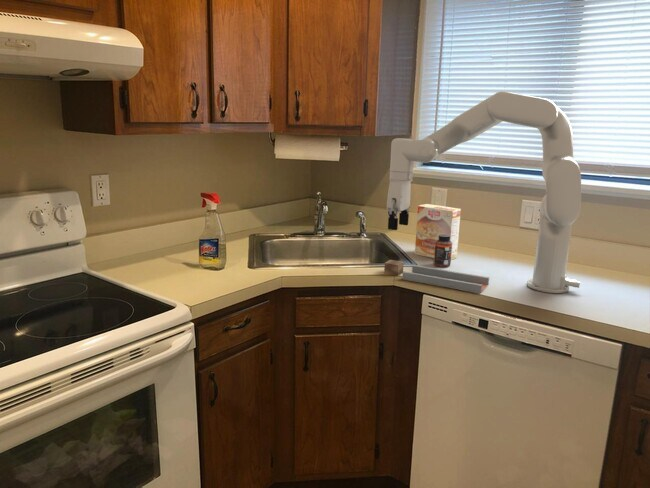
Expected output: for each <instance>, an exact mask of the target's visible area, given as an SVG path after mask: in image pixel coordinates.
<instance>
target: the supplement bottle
mask: <svg viewBox="0 0 650 488" xmlns="http://www.w3.org/2000/svg"><path fill="white" fill-rule="evenodd" d="M451 252H452V242H451V241H450V235H446V234H440V235H439V240H437V241H436V244H435V257H434V258H433V264H434V265H435V266H436V267H438V268H439V267H440V268H448V267H450V266H451V264H452V260H451Z"/></svg>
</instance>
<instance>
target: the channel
mask: <svg viewBox="0 0 650 488" xmlns="http://www.w3.org/2000/svg"><path fill="white" fill-rule="evenodd" d="M411 268H412V269H411V271H406V270H405V271H404V270H403V273H402V274H401V275H402V277H401V280H404V281H409V282H410V281H411V282H415V283H416V282H417V283H421V284H427V285H430V286H431V285H432V286H438V287H443V288H450V289H455V290H460V291H465V292H470V293H477V294H482V293H483V292H484V291H485V290H486V288H487V287H488V286H489V285H490V276H484V275H479V274H478V275H477V274H472V273H465V272H461V271H460V272H459V271H452V270H447V269H441V268H435V267H429V266H428V267H427V266H423V265H417V264H413V265H412V266H411Z"/></svg>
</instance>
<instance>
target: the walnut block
mask: <svg viewBox="0 0 650 488" xmlns="http://www.w3.org/2000/svg"><path fill="white" fill-rule="evenodd" d="M404 263H405V262H404V261H402V260H393V259H388V260H387V261H386V262H384V268H383V269H384V270H383V271H384V272H383V274H384V275H388V276H389V275H390V276H396V277H398V276H401V275H403V272H404Z"/></svg>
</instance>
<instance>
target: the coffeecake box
mask: <svg viewBox="0 0 650 488" xmlns="http://www.w3.org/2000/svg"><path fill="white" fill-rule="evenodd" d="M461 212H462V208H457V207H450V206H443V205H439V204H438V205H436V204H430V203H425V204H420V205H419V204H418V206H417V214H416V215H417V218H416V230H415V243H414V244H415V246H414V248H415V249H414V255H416V256H423V257H426V258H431V259H434V257H435V244H436V241H437V240H439V235H440V234H446V235H450V241H451V242H452V252H451V261H452V260H456V259H457V258H458V257H457V256H458V249H459V247H458V245H459V236H460V234H459V233H460V225H461Z"/></svg>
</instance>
